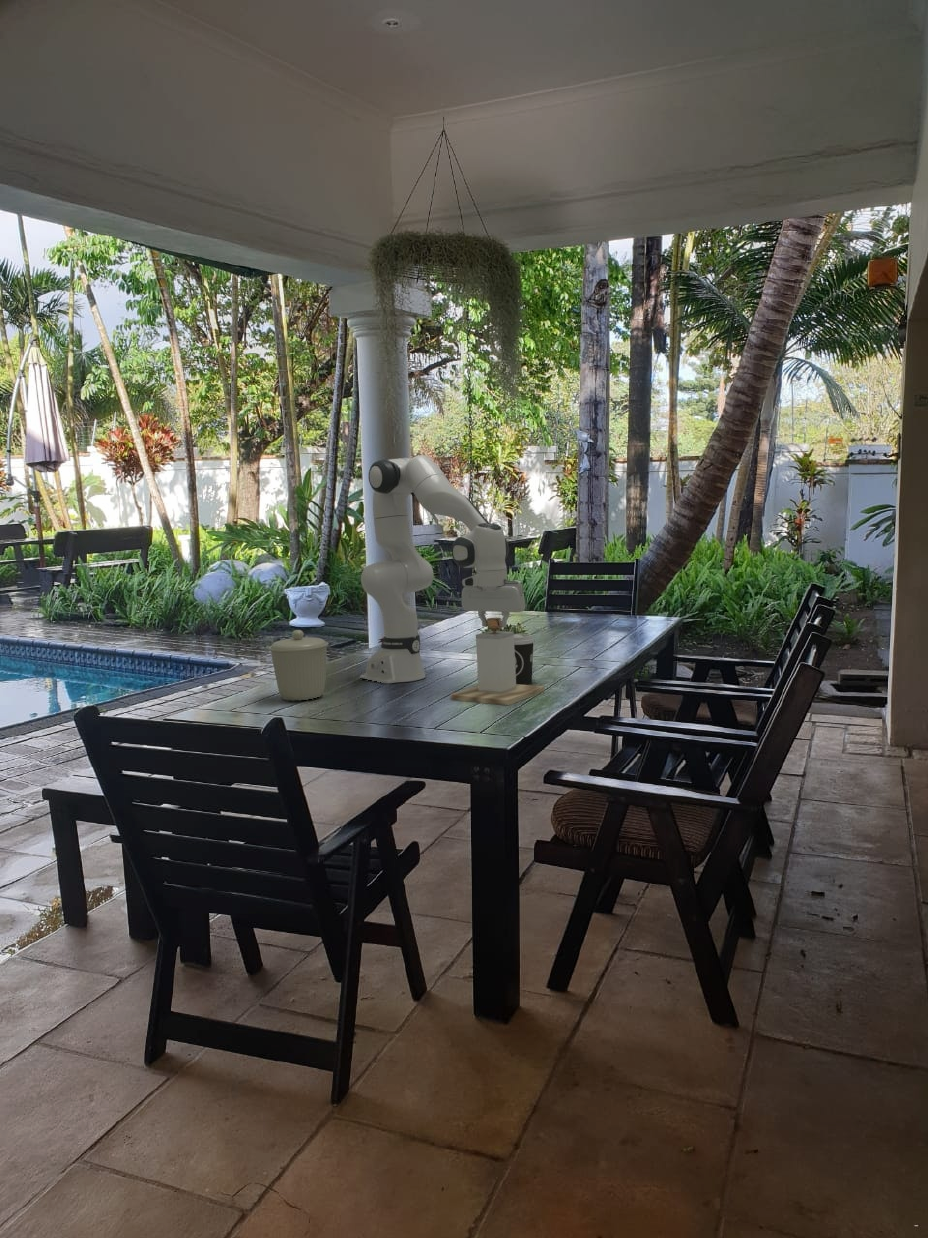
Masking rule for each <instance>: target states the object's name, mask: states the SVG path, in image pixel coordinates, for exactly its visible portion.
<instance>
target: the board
mask: <svg viewBox="0 0 928 1238" xmlns="http://www.w3.org/2000/svg"><path fill="white" fill-rule="evenodd" d="M544 692H545V686H544V685H543V686H542V685H531V684H528V685H521V684H516V689H515V690H512V691H509V692H507V693H504V694H493V693H482V692H479V689H478V684H477V685H475V686H471V687H469V688H466V689H464V690H460V691H457V692H454V693H450V695H449V698H450V701H457V702H458V701H460V702H470V703H477V704H478V703H479V704H491V705H499V706H511V705H514V704H515V703H518V702H520V701H524V700H526V699H528V698H531V697H533V696H536V695H539V694H542V693H544Z"/></svg>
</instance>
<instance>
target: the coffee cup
mask: <svg viewBox="0 0 928 1238" xmlns="http://www.w3.org/2000/svg"><path fill="white" fill-rule="evenodd" d="M535 642H536V640H535V637H533V635H532V633H514V650H515V671H516V684H521V685H527V684H528V685H531V684H532V683H533V665H534V664H533V663H534V661H533V658H534V644H535Z"/></svg>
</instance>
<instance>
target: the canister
mask: <svg viewBox="0 0 928 1238" xmlns="http://www.w3.org/2000/svg"><path fill="white" fill-rule="evenodd" d="M304 634H305V633H304V632H303V630H301V629H295V630H293V631H292V632H291V638H287V639H286V638H285V639H280V640H277V641H274V642H273V643H272V644H271V645H270V646H268V648H267V649H268V650H269V651H270V654H271V661H272V664H273V670H274V671H273V672H274V677H275V680H276V685H277V689H278V693H279V695H280V697H281V698H282V699H283V700H284V699H285V701H288V700H306V699H312V700H314V699H313V698H316V699H318V698H317V697H319V698H320V697H322V696H323V694H324V692H325V689H326V688H325V687H326V676H327V675H326V673H327V671H326V670H327V648H328V646H329V642H328V641H326V640H325V639H324V638H323V639H322V638H320V637H309V636H307V637H306V636H305V637H304ZM321 695H322V696H321Z"/></svg>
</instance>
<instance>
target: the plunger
mask: <svg viewBox="0 0 928 1238" xmlns="http://www.w3.org/2000/svg"><path fill="white" fill-rule="evenodd" d="M486 619H487V630H490V631H493V634H496V631H498V630H500V629H502V627H499V625H500V624H499V621H502V618H501V617H488V618H486Z"/></svg>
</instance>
